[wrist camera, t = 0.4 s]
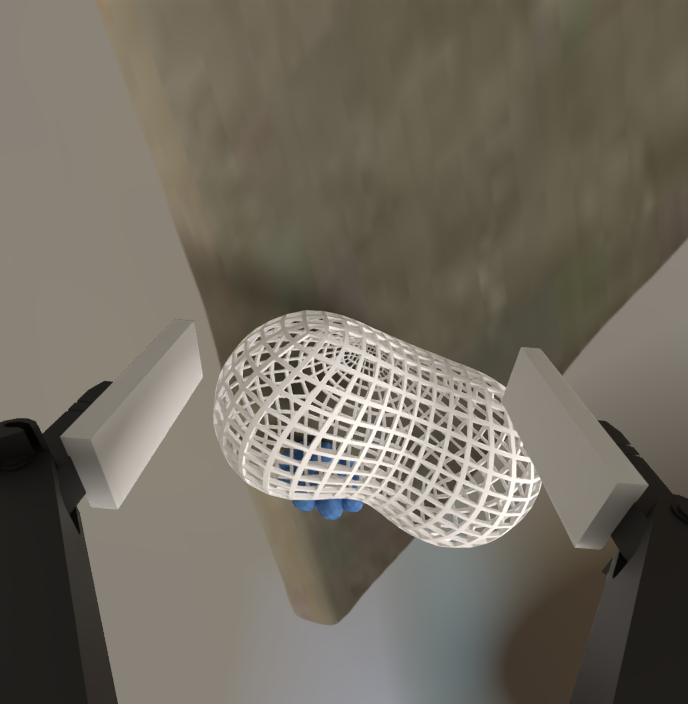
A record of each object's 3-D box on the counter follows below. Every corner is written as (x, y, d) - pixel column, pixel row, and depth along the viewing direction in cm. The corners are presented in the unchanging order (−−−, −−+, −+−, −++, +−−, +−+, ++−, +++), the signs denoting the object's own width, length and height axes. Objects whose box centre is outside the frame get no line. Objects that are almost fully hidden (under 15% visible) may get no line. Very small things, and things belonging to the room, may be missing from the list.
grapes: (370, 423, 51) (378, 494, 40) (362, 461, 54) (367, 536, 43) (284, 414, 50) (268, 483, 39) (281, 453, 53) (266, 527, 42)
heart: (502, 339, 45) (628, 479, 25) (436, 433, 51) (496, 603, 31) (282, 242, 40) (222, 323, 20) (239, 360, 46) (162, 509, 26)
